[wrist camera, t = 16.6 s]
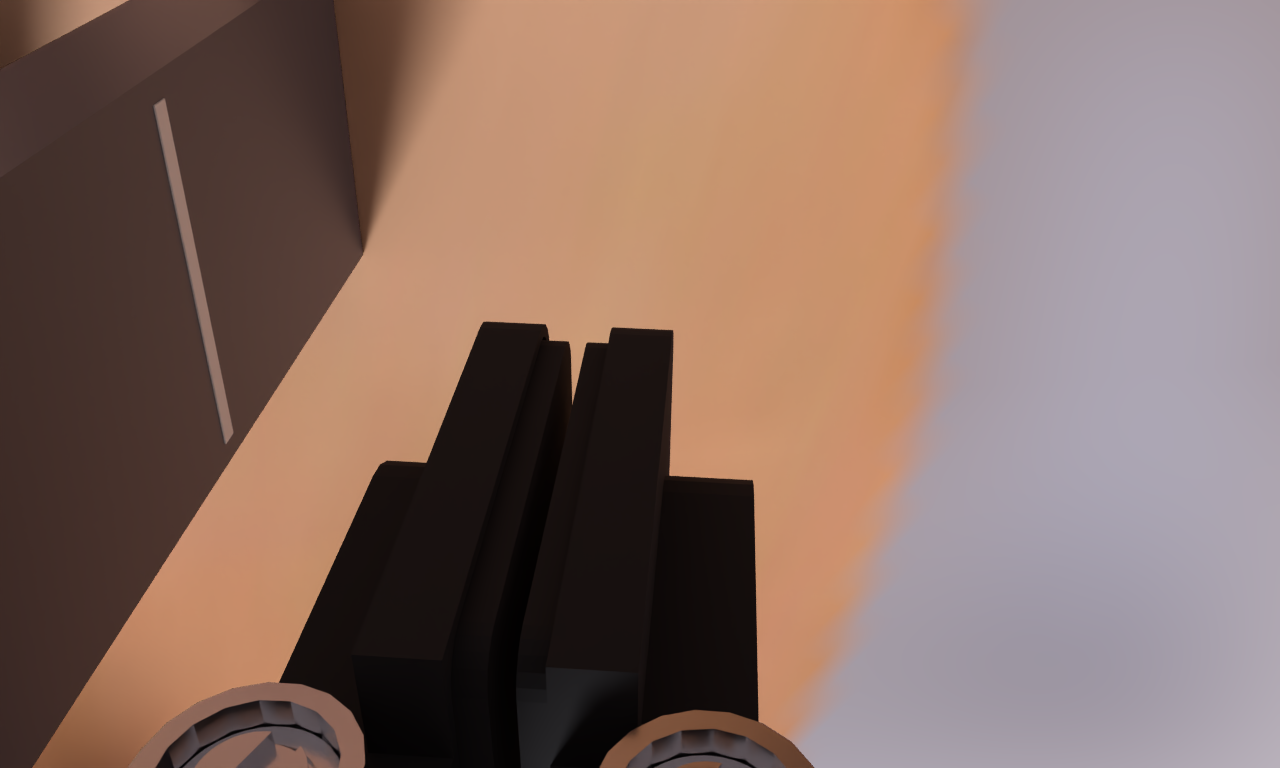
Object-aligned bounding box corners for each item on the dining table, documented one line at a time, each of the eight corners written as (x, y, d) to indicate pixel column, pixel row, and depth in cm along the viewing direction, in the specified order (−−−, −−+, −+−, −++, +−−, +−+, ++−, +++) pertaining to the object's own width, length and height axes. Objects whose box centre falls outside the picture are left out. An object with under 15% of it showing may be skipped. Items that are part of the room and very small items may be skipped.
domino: (329, -46, 17) (-287, 375, 7) (363, 254, 19) (-38, 877, 9) (222, -51, 17) (-545, 357, 7) (272, 249, 20) (-225, 861, 9)
